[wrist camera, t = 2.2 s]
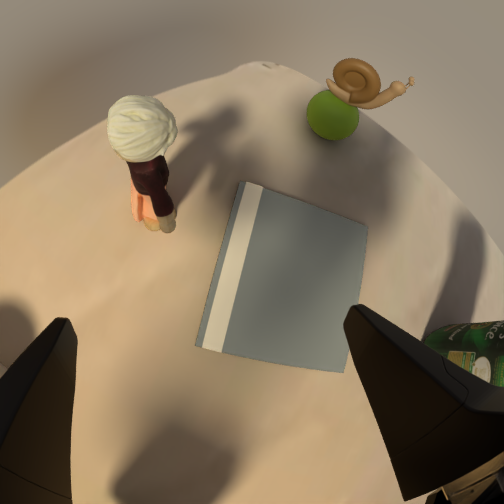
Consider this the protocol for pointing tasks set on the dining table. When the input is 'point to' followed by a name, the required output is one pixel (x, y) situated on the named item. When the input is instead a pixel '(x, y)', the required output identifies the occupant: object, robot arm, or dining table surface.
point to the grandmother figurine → (145, 156)
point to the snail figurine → (349, 98)
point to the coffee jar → (473, 348)
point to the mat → (284, 282)
